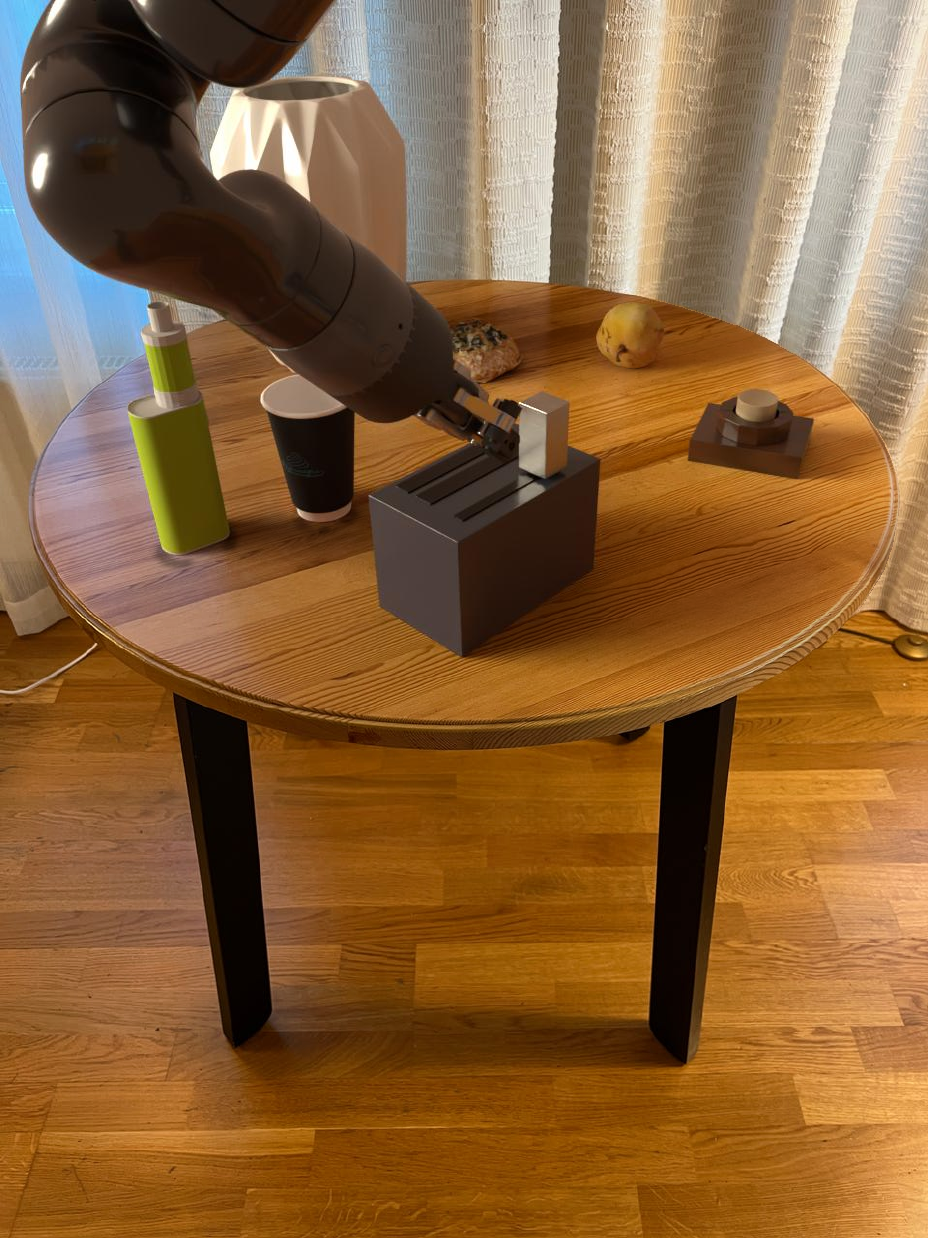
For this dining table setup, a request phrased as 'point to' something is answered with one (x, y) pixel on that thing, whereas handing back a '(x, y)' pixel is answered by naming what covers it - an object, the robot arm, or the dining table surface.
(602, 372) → the dining table surface
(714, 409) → the block
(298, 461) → the dixie cup
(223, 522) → the vape
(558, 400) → the toaster slider
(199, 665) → the dining table surface
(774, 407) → the power button
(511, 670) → the dining table surface
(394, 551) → the toaster
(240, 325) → the robot arm
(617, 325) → the fruit
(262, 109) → the vase
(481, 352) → the bread roll
